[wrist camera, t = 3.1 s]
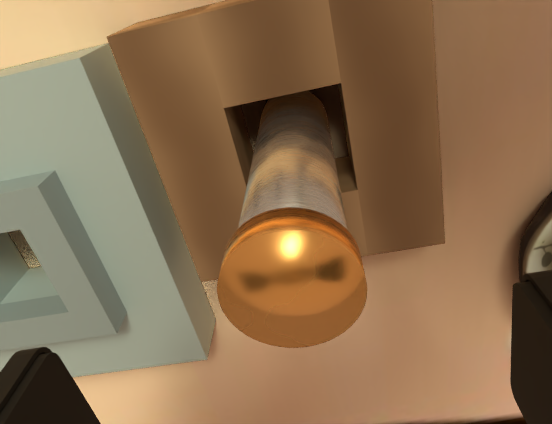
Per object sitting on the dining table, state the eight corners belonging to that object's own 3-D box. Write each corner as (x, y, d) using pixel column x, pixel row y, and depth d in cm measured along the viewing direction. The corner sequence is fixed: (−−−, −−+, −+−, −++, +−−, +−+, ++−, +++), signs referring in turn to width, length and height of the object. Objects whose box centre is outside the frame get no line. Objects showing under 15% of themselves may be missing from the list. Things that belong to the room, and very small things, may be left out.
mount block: (406, -45, 17) (429, -44, 14) (425, 203, 23) (444, 243, 20) (137, 22, 19) (106, 37, 16) (213, 240, 24) (201, 281, 21)
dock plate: (108, 43, 19) (61, 67, 15) (216, 320, 27) (202, 382, 23) (-166, 110, 21) (-270, 146, 17) (6, 350, 29) (-39, 412, 25)
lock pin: (324, 76, 20) (355, 218, 9) (337, 148, 21) (375, 337, 11) (248, 92, 20) (198, 245, 10) (266, 161, 22) (239, 355, 11)
